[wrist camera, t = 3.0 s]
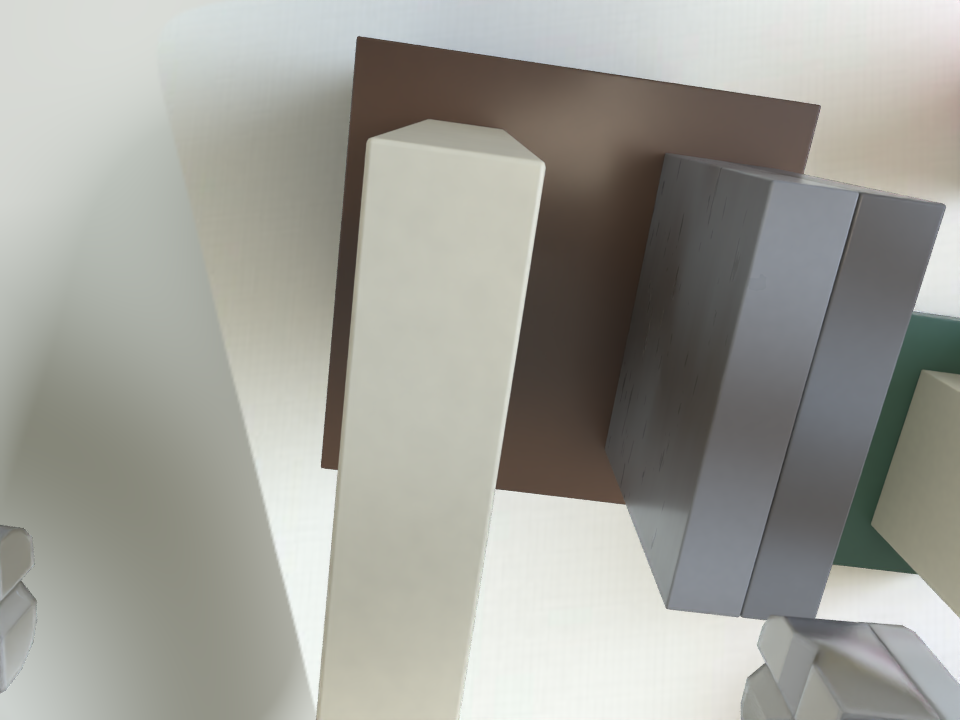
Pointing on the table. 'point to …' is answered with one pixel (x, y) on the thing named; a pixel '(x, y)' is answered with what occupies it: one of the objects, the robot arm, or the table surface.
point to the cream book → (424, 413)
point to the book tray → (912, 355)
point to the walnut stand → (675, 312)
